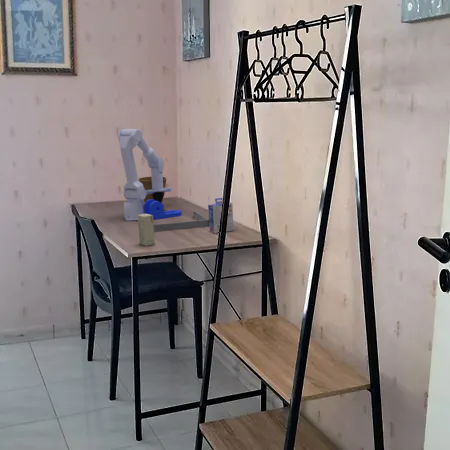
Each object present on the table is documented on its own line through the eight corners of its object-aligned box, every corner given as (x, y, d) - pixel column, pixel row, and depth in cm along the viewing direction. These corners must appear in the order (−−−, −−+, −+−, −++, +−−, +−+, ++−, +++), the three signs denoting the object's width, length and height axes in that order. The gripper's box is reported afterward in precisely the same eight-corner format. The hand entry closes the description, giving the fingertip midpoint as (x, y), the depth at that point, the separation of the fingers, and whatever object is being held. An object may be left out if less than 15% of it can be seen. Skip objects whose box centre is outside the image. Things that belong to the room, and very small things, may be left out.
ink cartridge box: (228, 228, 282) (227, 196, 279) (234, 230, 277) (233, 198, 274) (208, 231, 277) (207, 199, 274) (214, 233, 272) (213, 200, 269)
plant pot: (136, 210, 333) (134, 180, 330) (145, 205, 347) (143, 176, 344) (162, 210, 330) (161, 180, 327) (171, 205, 344) (169, 176, 341)
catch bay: (148, 232, 279) (148, 225, 279) (138, 221, 303) (138, 215, 302) (210, 226, 287) (209, 219, 287) (195, 216, 311) (195, 210, 310)
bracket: (151, 220, 306) (150, 202, 304) (144, 217, 313) (143, 200, 311) (184, 215, 314) (183, 198, 313) (177, 213, 321) (176, 196, 320)
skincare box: (155, 244, 256) (153, 215, 253) (145, 246, 254) (144, 216, 251) (148, 241, 261) (146, 213, 259) (138, 243, 259) (137, 214, 256)
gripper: (147, 183, 316) (149, 209, 319) (173, 180, 323) (174, 206, 326) (141, 181, 322) (143, 207, 325) (167, 178, 329) (168, 204, 332)
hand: (158, 206), depth 326 cm, fingers closed
